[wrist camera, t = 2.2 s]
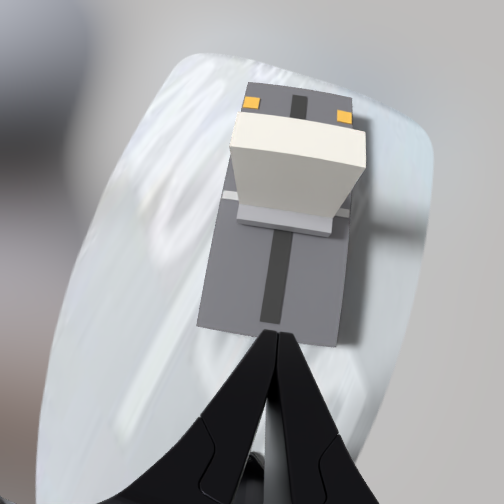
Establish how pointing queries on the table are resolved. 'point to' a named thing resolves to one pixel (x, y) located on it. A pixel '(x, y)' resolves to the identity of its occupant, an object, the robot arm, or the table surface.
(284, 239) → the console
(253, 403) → the robot arm
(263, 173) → the fader
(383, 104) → the table surface
